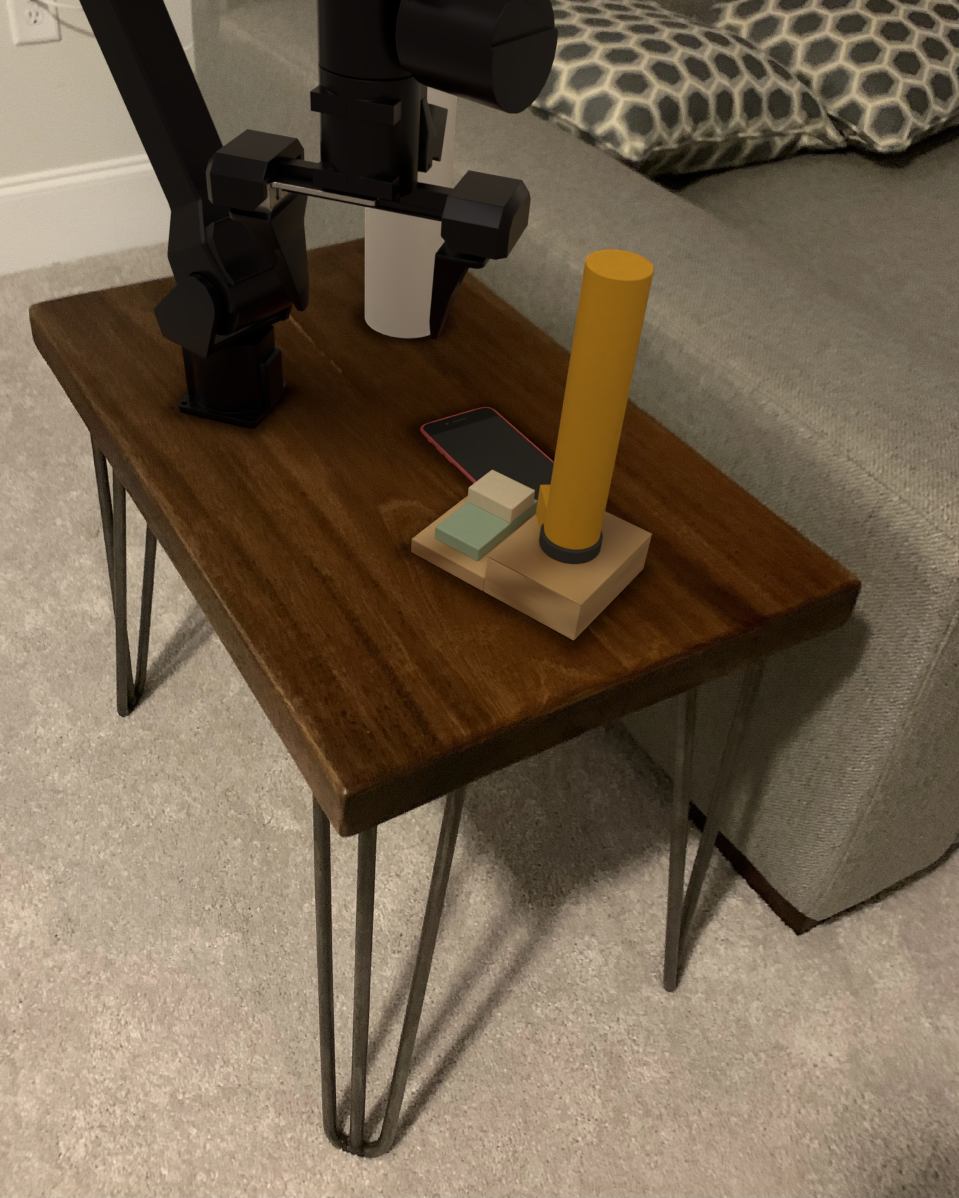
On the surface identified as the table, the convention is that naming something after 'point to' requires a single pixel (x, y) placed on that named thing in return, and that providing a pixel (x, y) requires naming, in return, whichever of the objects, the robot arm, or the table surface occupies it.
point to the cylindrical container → (406, 250)
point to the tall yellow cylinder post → (594, 403)
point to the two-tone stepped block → (487, 515)
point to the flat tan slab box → (545, 571)
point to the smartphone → (489, 448)
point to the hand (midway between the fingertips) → (368, 322)
